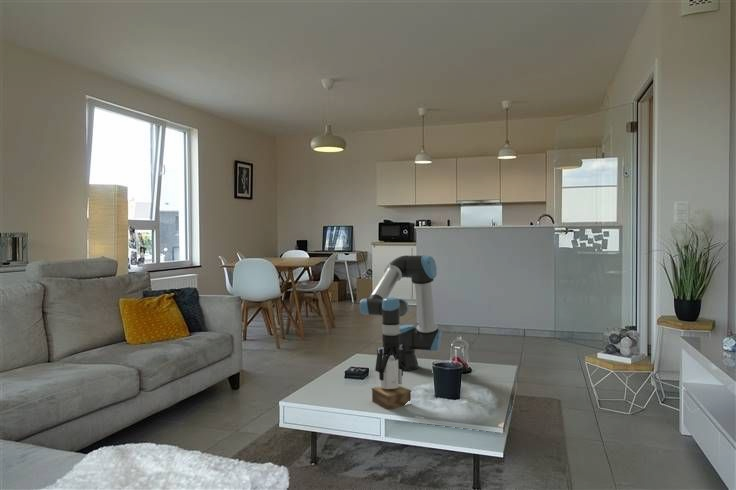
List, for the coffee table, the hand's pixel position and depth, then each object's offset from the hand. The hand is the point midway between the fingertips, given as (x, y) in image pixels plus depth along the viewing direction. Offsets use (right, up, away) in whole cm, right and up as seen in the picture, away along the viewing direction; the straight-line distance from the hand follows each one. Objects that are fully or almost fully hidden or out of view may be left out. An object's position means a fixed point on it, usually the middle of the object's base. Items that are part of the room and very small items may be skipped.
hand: (391, 385), depth 210 cm
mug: (0, -1, 0) cm, 1 cm away
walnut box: (0, -8, 0) cm, 8 cm away
